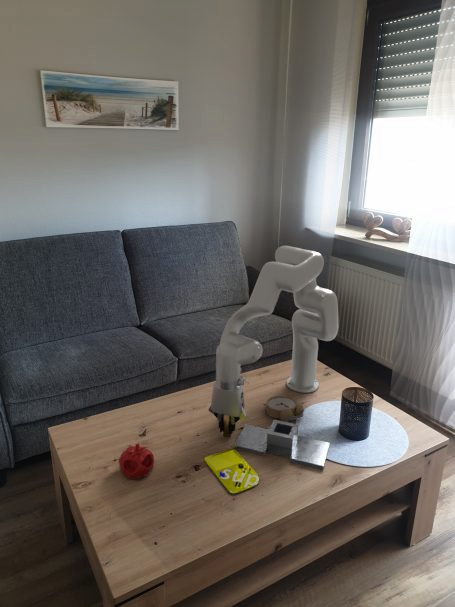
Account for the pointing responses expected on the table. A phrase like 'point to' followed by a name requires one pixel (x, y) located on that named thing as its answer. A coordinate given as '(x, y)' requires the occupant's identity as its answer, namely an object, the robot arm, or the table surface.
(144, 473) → the pomegranate
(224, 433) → the hinge pin
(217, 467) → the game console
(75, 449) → the table surface
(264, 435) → the hinge frame
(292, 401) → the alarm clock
